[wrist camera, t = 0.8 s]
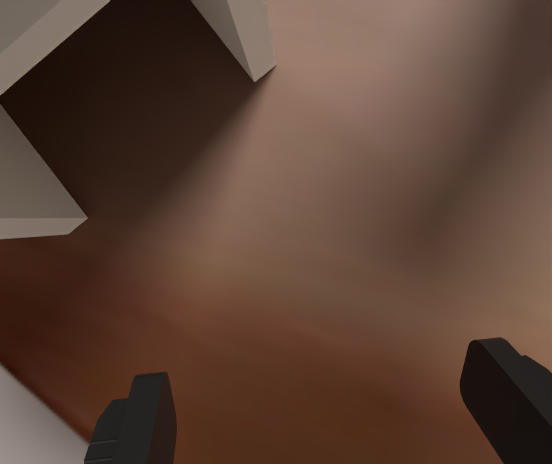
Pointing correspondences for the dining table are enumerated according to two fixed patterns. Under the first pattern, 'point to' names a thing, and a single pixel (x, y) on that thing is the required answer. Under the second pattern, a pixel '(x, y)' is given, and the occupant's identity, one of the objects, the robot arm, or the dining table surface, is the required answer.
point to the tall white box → (39, 43)
